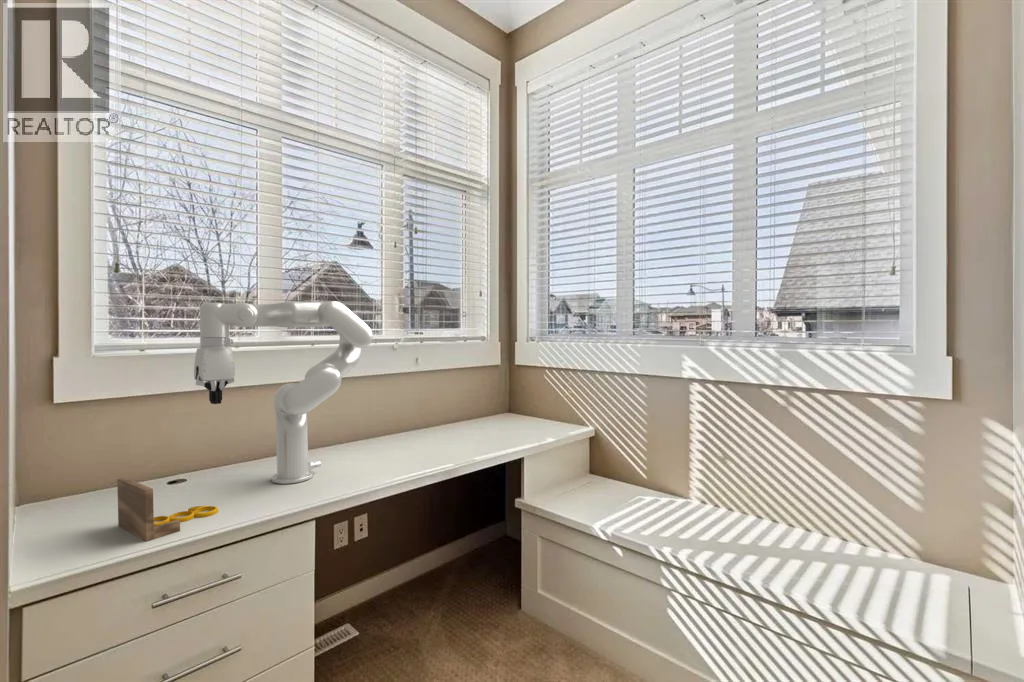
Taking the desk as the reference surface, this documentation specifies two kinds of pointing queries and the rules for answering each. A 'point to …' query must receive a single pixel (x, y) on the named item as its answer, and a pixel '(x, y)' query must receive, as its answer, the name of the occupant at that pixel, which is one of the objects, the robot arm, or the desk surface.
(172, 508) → the desk surface
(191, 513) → the yellow triple ring ornament
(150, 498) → the display stand
